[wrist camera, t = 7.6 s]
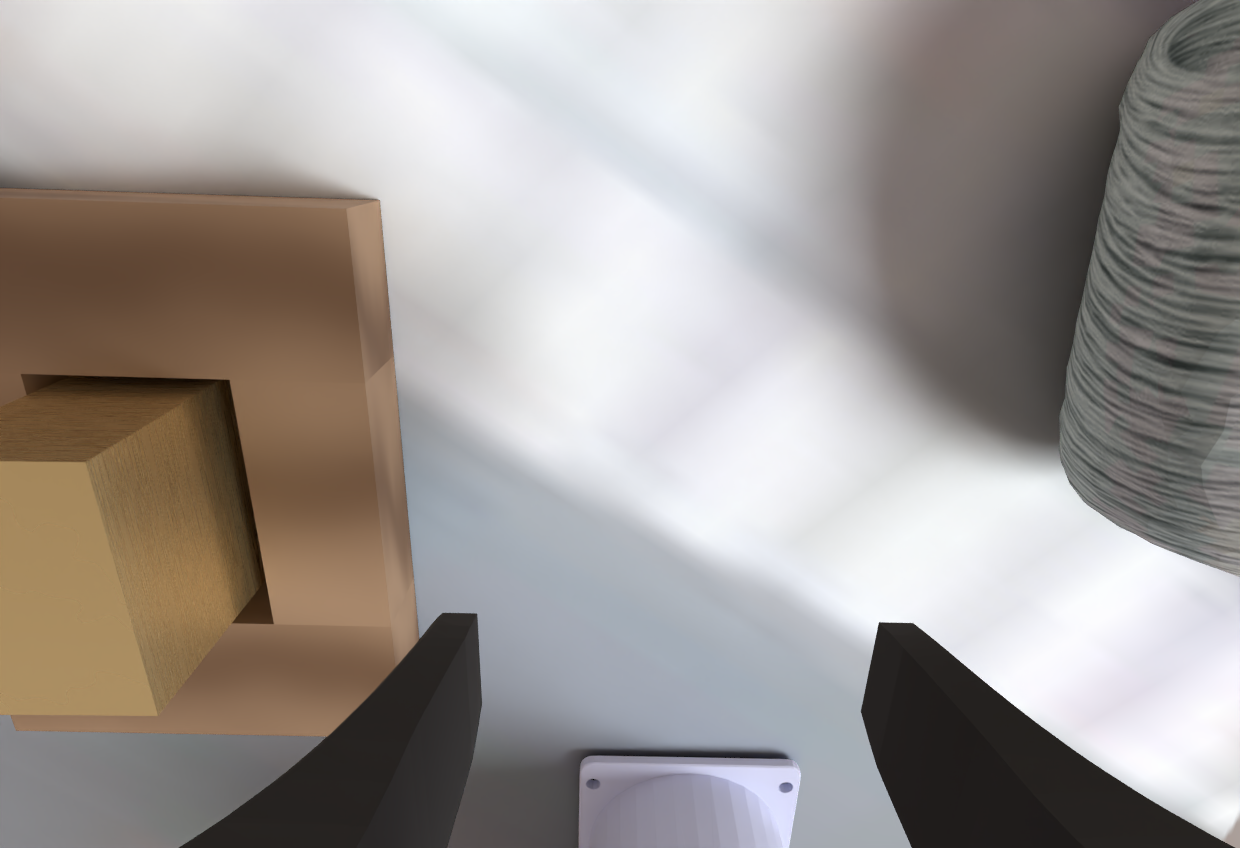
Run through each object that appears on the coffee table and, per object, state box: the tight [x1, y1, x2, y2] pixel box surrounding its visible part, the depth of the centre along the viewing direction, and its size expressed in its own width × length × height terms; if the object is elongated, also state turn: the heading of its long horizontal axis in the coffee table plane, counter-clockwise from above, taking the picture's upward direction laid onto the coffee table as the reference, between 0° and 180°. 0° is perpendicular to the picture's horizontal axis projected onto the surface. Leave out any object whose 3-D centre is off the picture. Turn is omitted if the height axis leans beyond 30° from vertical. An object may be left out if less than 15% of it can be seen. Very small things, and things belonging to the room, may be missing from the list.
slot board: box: [0, 188, 419, 736], centre depth 20 cm, size 16×12×2 cm
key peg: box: [0, 375, 266, 716], centre depth 18 cm, size 4×6×7 cm, turn 179°
